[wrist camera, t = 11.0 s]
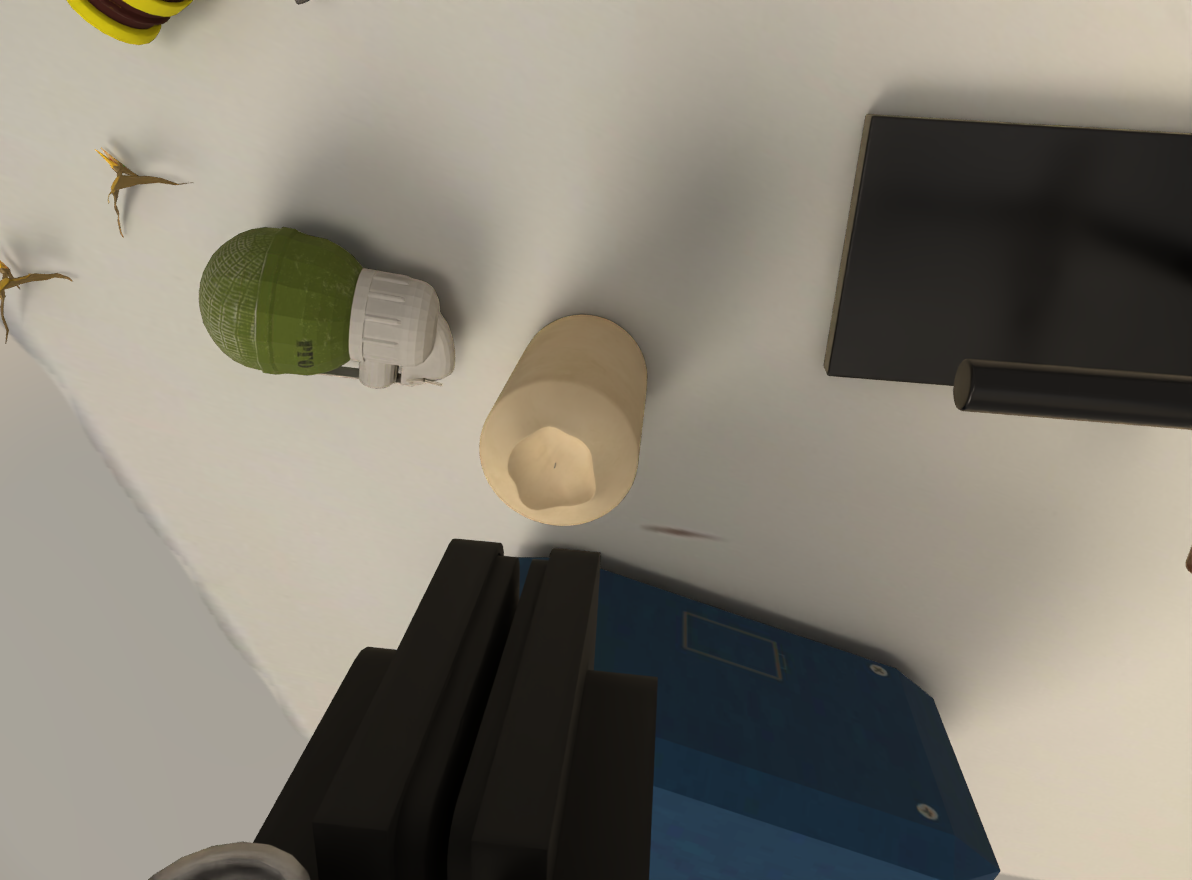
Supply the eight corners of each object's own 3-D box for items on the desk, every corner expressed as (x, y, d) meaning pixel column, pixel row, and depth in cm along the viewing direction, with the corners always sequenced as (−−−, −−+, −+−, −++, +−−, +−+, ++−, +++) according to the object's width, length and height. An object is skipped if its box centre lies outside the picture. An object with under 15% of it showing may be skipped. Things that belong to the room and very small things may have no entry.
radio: (477, 665, 44) (330, 1088, 26) (525, 526, 40) (393, 904, 22) (855, 790, 45) (971, 1284, 27) (934, 665, 41) (1130, 1137, 23)
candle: (673, 362, 37) (670, 460, 27) (599, 455, 39) (573, 575, 30) (568, 286, 36) (528, 362, 27) (498, 386, 38) (438, 487, 29)
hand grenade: (184, 401, 33) (442, 439, 35) (167, 256, 30) (457, 305, 31) (232, 324, 38) (458, 360, 39) (223, 189, 34) (473, 234, 36)
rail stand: (865, 113, 32) (1027, 156, 17) (1282, 138, 31) (1853, 207, 16) (822, 367, 36) (922, 584, 21) (1190, 396, 35) (1575, 647, 20)
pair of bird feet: (164, 169, 33) (223, 210, 36) (147, 107, 34) (205, 151, 37) (-69, 317, 35) (5, 344, 38) (-79, 253, 36) (-6, 284, 39)
